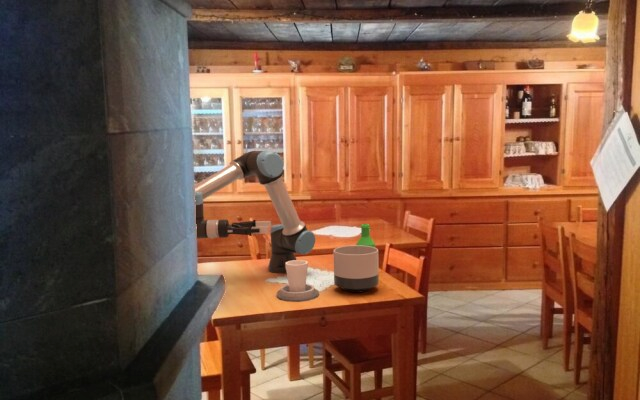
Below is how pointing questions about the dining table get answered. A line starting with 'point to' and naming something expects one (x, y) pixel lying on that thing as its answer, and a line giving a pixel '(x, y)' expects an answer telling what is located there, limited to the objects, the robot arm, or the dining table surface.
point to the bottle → (365, 236)
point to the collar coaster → (297, 293)
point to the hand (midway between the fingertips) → (269, 227)
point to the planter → (356, 267)
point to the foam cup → (296, 275)
